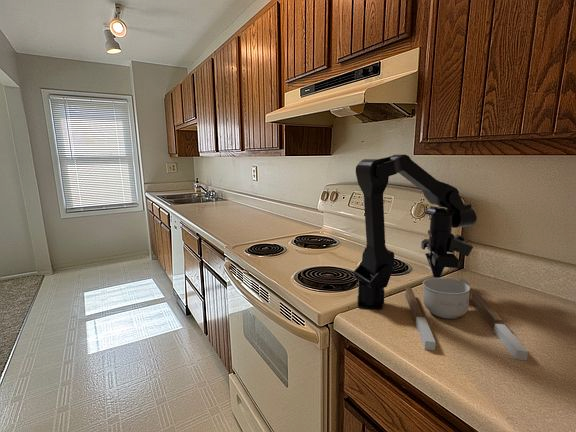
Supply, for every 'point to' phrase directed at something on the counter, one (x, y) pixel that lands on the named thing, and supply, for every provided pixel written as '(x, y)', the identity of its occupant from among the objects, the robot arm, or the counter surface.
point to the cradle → (475, 298)
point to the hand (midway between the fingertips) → (436, 279)
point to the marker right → (510, 342)
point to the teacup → (446, 297)
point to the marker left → (425, 333)
